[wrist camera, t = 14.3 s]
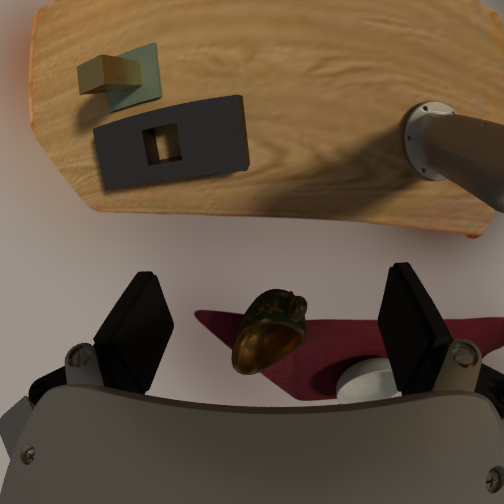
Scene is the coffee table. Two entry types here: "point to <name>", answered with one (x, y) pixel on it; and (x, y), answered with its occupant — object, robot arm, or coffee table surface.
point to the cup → (269, 331)
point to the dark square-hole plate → (190, 138)
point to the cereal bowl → (366, 382)
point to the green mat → (149, 79)
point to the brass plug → (108, 75)
